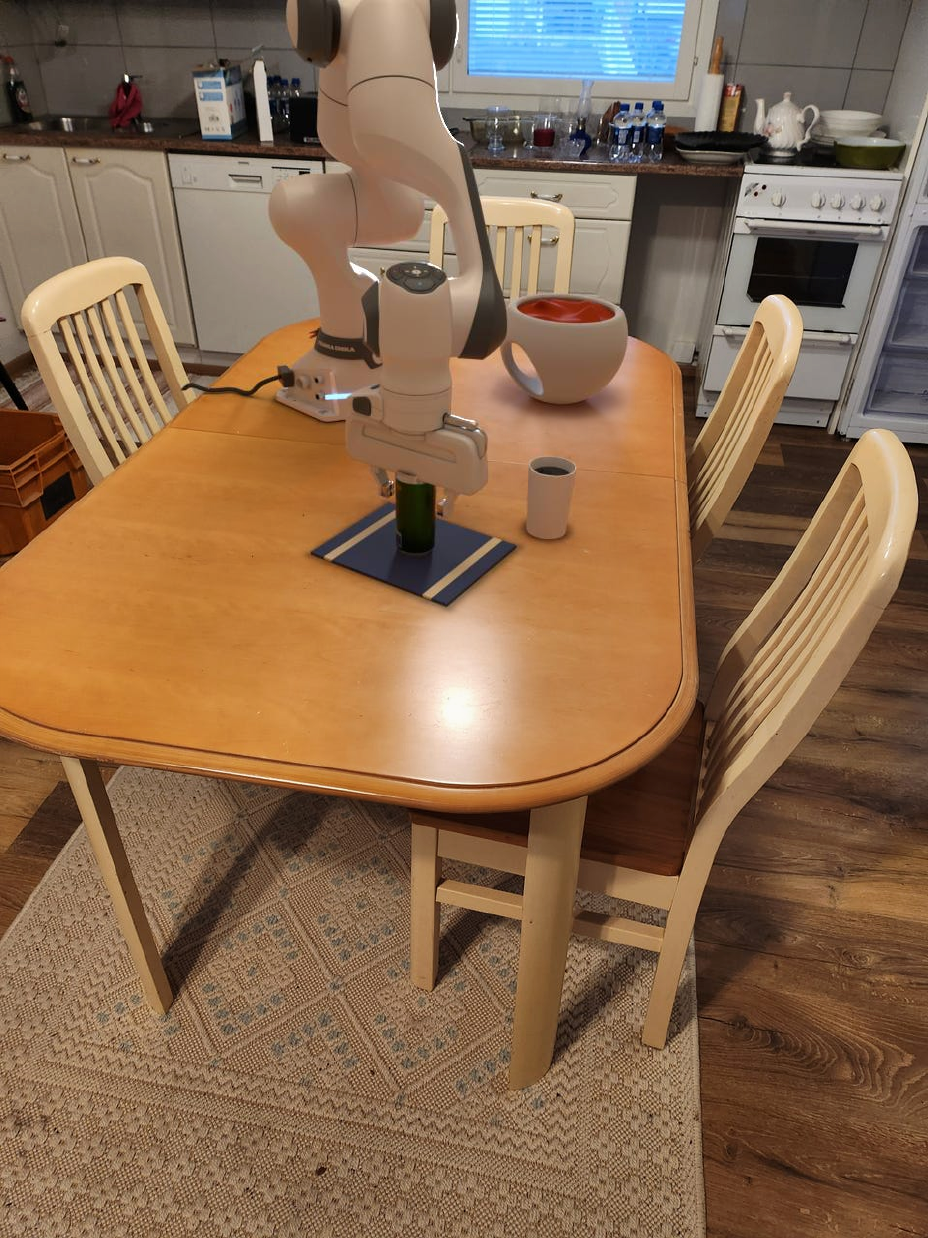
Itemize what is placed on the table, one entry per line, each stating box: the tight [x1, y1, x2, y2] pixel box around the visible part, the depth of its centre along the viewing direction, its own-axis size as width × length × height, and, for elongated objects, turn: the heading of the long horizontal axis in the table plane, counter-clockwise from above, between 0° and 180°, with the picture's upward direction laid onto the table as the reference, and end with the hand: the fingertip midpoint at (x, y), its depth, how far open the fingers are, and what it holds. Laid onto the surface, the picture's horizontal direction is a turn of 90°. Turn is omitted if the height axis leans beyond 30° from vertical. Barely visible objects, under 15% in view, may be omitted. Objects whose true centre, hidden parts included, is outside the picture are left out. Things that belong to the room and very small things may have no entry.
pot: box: [499, 292, 629, 405], centre depth 165 cm, size 24×24×18 cm
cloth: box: [310, 501, 518, 608], centre depth 119 cm, size 22×18×1 cm
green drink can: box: [394, 470, 437, 557], centre depth 116 cm, size 5×5×12 cm
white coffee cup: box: [525, 455, 577, 540], centre depth 123 cm, size 7×7×10 cm
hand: (415, 505), depth 115 cm, fingers open, 8 cm apart
